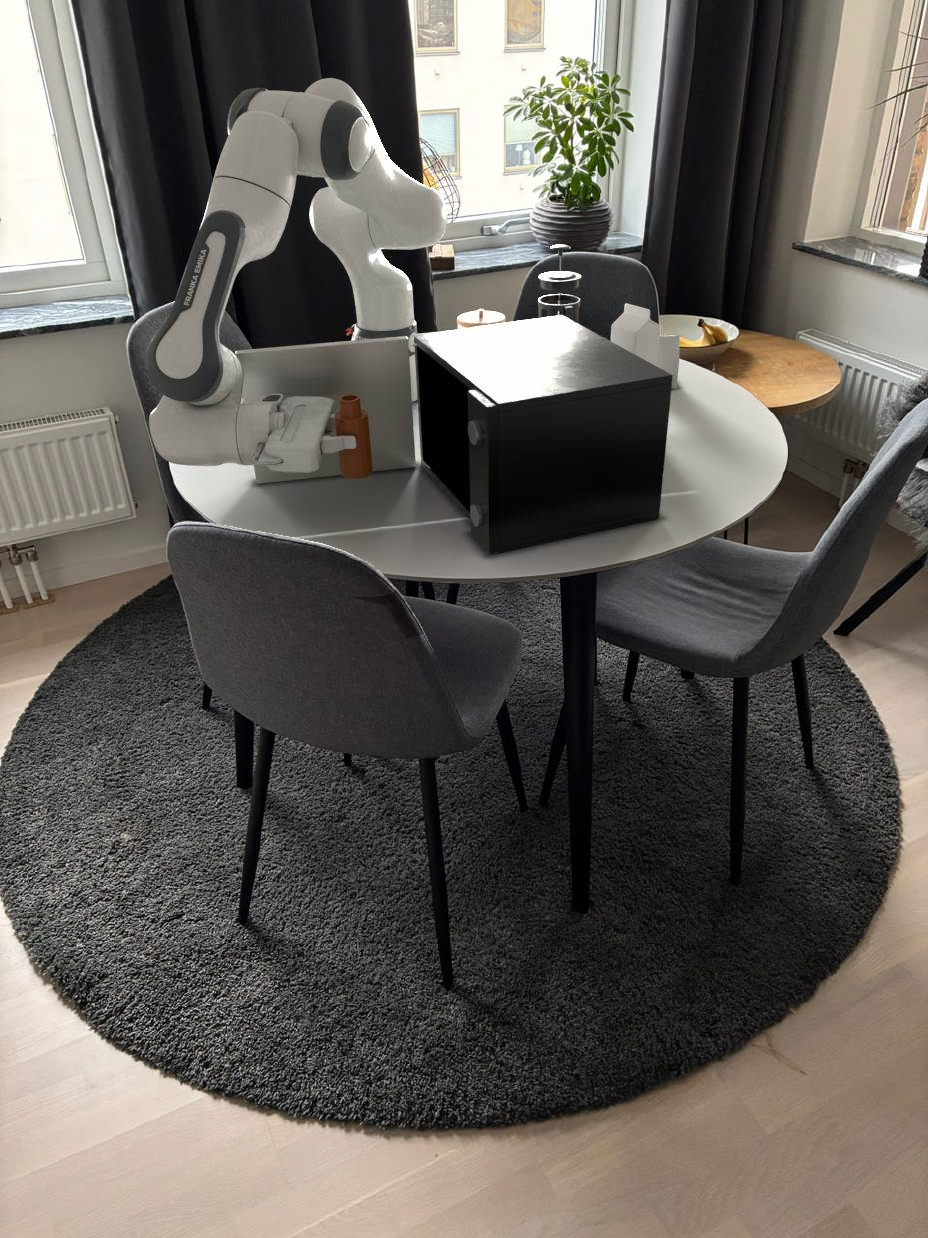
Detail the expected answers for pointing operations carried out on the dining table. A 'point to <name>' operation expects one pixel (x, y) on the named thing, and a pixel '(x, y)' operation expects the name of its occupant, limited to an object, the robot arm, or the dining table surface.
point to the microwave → (541, 429)
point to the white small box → (669, 356)
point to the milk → (637, 333)
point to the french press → (559, 283)
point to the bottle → (356, 422)
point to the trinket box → (479, 319)
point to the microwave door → (341, 393)
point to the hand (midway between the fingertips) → (359, 432)
